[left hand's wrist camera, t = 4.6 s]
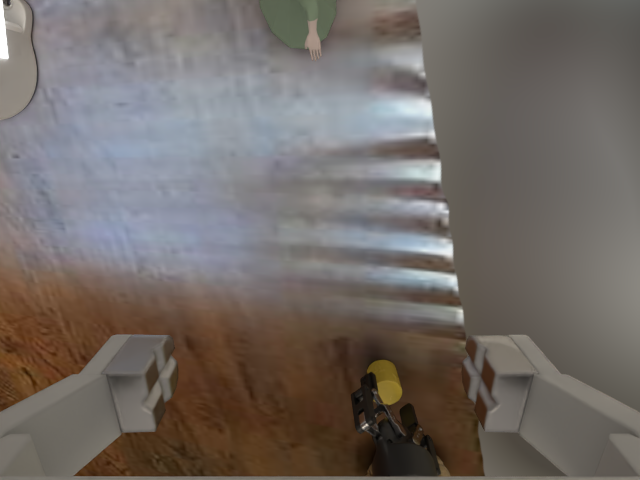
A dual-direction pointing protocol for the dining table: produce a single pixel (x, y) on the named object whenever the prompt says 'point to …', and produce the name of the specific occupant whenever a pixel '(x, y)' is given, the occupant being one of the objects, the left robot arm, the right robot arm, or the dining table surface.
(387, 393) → the canister
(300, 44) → the character figurine
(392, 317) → the dining table surface
